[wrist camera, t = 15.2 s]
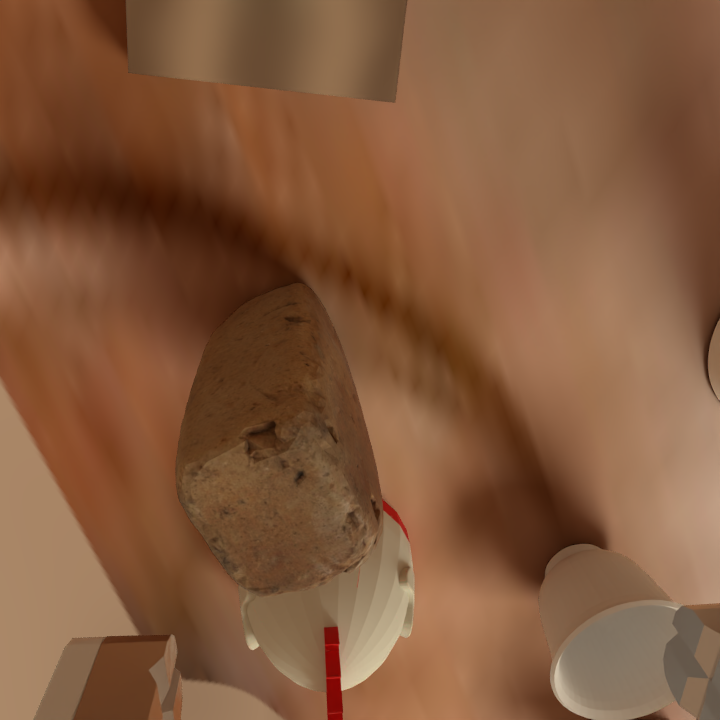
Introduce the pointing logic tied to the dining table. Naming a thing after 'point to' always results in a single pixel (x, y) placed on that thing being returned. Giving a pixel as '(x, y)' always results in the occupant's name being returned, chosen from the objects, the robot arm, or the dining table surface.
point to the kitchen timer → (338, 620)
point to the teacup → (606, 634)
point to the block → (279, 449)
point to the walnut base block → (272, 43)
